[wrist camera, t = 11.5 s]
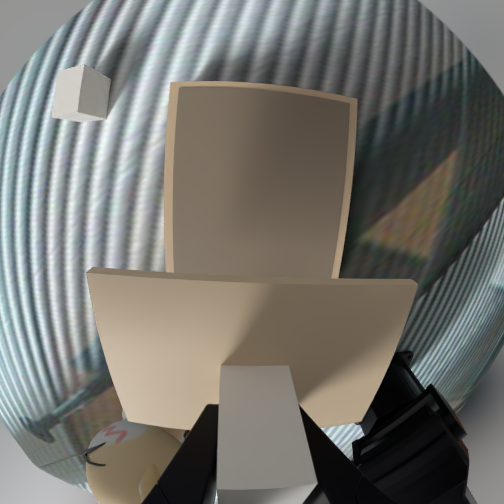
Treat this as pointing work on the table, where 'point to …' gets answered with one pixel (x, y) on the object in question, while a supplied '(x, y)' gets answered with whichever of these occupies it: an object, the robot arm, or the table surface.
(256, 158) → the carton
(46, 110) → the table surface
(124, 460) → the kitten
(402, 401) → the robot arm
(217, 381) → the flap near
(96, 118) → the white block
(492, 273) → the table surface
